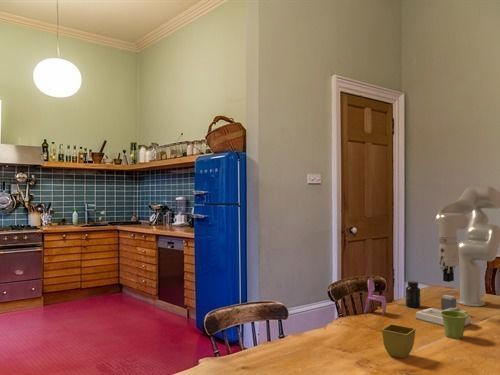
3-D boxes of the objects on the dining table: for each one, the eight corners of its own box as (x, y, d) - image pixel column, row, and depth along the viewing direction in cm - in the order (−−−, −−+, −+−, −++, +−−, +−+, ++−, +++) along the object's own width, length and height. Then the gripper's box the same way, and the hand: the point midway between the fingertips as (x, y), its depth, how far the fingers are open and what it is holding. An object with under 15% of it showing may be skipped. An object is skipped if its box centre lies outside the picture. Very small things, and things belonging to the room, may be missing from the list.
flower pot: (391, 348, 153) (391, 323, 153) (416, 354, 147) (416, 328, 147) (381, 356, 146) (381, 329, 146) (407, 362, 140) (407, 334, 140)
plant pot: (470, 341, 160) (470, 317, 160) (443, 339, 162) (443, 316, 162) (463, 333, 169) (463, 311, 170) (438, 331, 171) (437, 310, 171)
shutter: (451, 313, 186) (450, 305, 186) (467, 317, 180) (467, 308, 180) (442, 316, 182) (442, 308, 182) (458, 320, 176) (458, 311, 176)
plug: (445, 311, 201) (445, 294, 201) (456, 314, 197) (456, 296, 197) (441, 313, 198) (441, 295, 198) (451, 315, 194) (451, 297, 194)
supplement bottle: (422, 308, 206) (422, 283, 207) (408, 308, 207) (408, 283, 207) (417, 304, 213) (417, 280, 213) (403, 304, 213) (403, 280, 214)
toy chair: (382, 316, 193) (382, 282, 193) (363, 313, 198) (363, 280, 198) (387, 312, 200) (387, 279, 200) (368, 309, 205) (368, 277, 205)
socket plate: (431, 314, 196) (430, 306, 196) (470, 324, 181) (470, 315, 181) (415, 318, 189) (415, 310, 189) (455, 329, 174) (455, 320, 174)
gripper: (446, 243, 190) (447, 284, 190) (464, 240, 200) (465, 280, 199) (430, 241, 196) (431, 282, 196) (449, 239, 206) (449, 277, 205)
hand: (448, 280), depth 198 cm, fingers closed
